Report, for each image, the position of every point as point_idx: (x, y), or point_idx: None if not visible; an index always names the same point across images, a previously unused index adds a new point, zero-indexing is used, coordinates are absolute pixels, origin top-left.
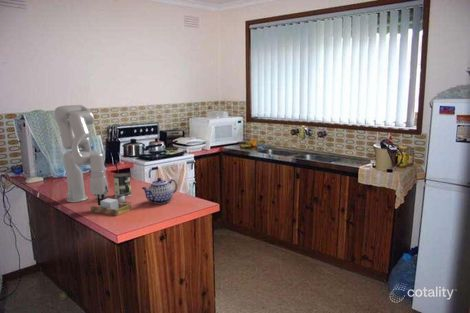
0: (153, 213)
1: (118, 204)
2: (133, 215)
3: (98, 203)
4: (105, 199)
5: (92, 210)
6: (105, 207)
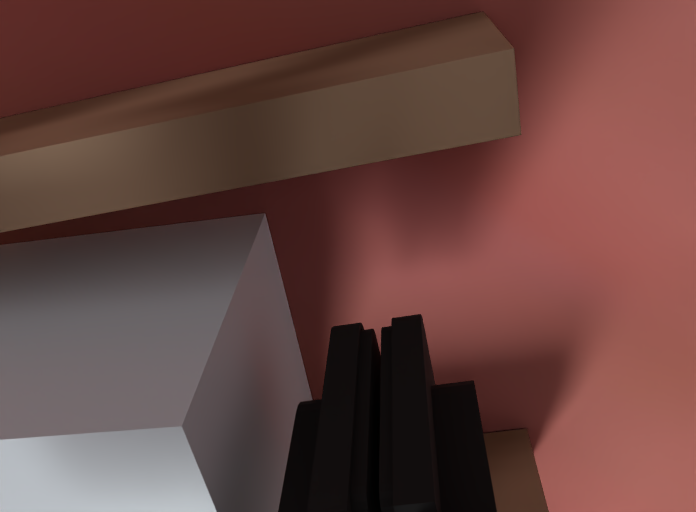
0: None
1: None
2: None
3: (394, 354)
4: None
5: (405, 39)
6: (26, 302)
